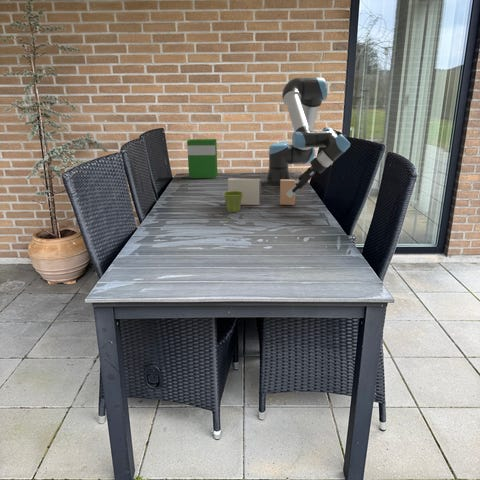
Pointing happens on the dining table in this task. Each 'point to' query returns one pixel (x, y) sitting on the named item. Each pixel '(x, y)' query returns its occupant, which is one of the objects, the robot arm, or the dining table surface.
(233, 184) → the block
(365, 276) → the dining table surface
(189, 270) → the dining table surface
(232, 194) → the plant pot
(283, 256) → the dining table surface
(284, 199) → the tan rectangular block
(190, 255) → the dining table surface
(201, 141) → the hardback book
